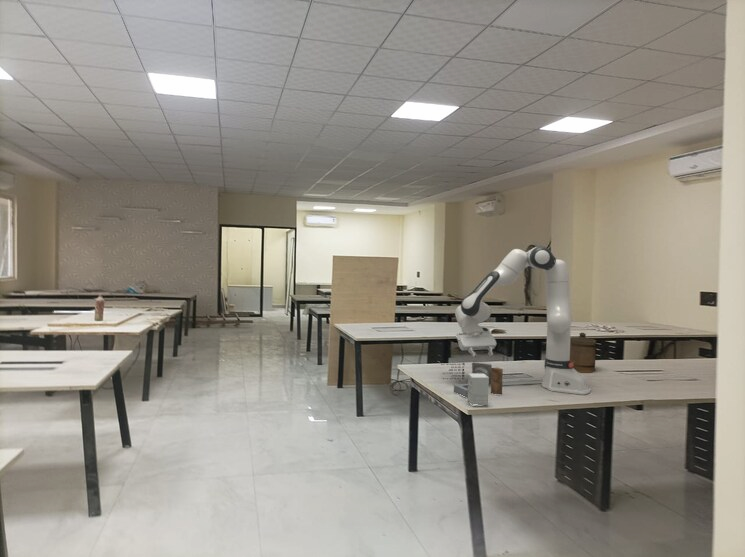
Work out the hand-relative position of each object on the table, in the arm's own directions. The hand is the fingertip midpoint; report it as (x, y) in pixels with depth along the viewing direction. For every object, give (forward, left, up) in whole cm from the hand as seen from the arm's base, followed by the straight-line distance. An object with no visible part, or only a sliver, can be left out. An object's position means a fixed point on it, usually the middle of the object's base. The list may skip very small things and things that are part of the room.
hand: (483, 355), depth 234 cm
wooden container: (-31, -76, -16) cm, 84 cm away
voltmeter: (+10, -5, -16) cm, 20 cm away
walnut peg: (-9, +6, -16) cm, 19 cm away
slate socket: (+1, +15, -16) cm, 22 cm away
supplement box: (-8, +27, -16) cm, 33 cm away
